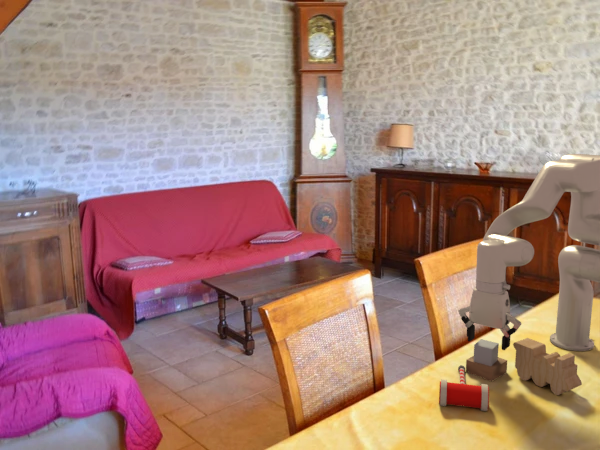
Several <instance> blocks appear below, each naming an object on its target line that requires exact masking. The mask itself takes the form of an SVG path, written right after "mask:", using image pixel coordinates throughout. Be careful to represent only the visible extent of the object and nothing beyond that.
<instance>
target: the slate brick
mask: <svg viewBox="0 0 600 450" xmlns="http://www.w3.org/2000/svg"><path fill="white" fill-rule="evenodd" d="M473 356H474V362H477V363H481V364H485V365H488V366H492V365H493V364H494V363H495V362H496V361H497V360H498V357H499V343H498V342H494V341H491V340H486V339H479V340H478V341H477V342H475V344H474V346H473Z"/></svg>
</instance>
